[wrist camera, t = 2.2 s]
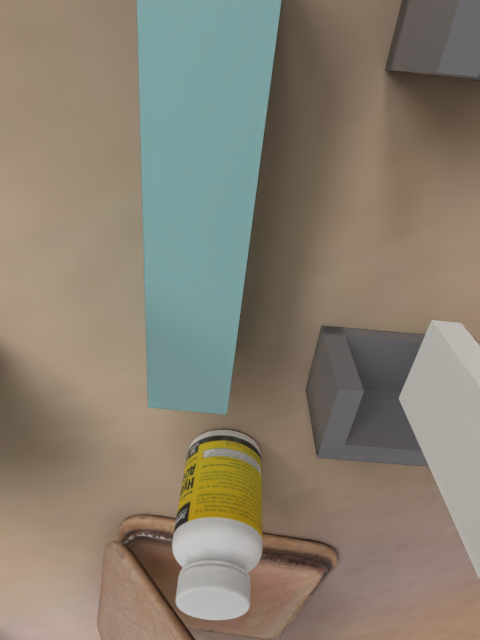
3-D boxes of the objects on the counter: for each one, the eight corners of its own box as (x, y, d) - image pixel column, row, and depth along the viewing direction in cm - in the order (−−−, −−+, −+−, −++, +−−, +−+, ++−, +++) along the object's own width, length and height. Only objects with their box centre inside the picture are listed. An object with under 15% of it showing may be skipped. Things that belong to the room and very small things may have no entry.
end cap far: (321, 325, 22) (338, 389, 18) (465, 338, 23) (515, 403, 18) (305, 389, 25) (317, 458, 21) (433, 400, 25) (471, 469, 21)
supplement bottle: (188, 423, 27) (160, 578, 19) (265, 429, 27) (271, 586, 19) (187, 471, 30) (163, 623, 22) (256, 476, 30) (258, 629, 22)
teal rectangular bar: (169, -50, 14) (134, -97, 10) (279, -34, 14) (291, -74, 10) (166, 347, 24) (148, 407, 20) (231, 353, 24) (226, 414, 20)
